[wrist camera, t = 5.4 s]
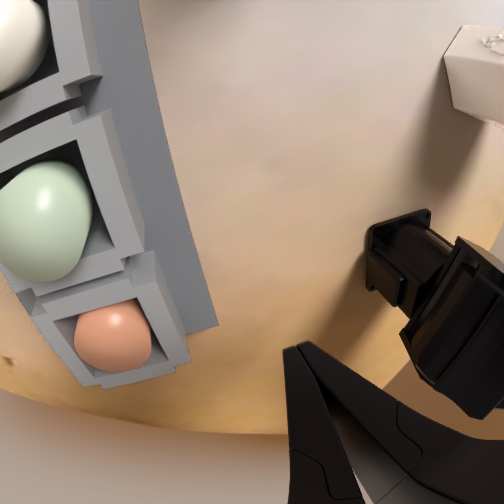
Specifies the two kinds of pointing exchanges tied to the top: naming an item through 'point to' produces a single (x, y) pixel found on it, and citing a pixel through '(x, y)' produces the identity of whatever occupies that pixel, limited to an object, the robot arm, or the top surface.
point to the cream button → (21, 41)
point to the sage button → (45, 220)
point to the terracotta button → (114, 336)
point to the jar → (477, 72)
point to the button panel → (107, 187)
